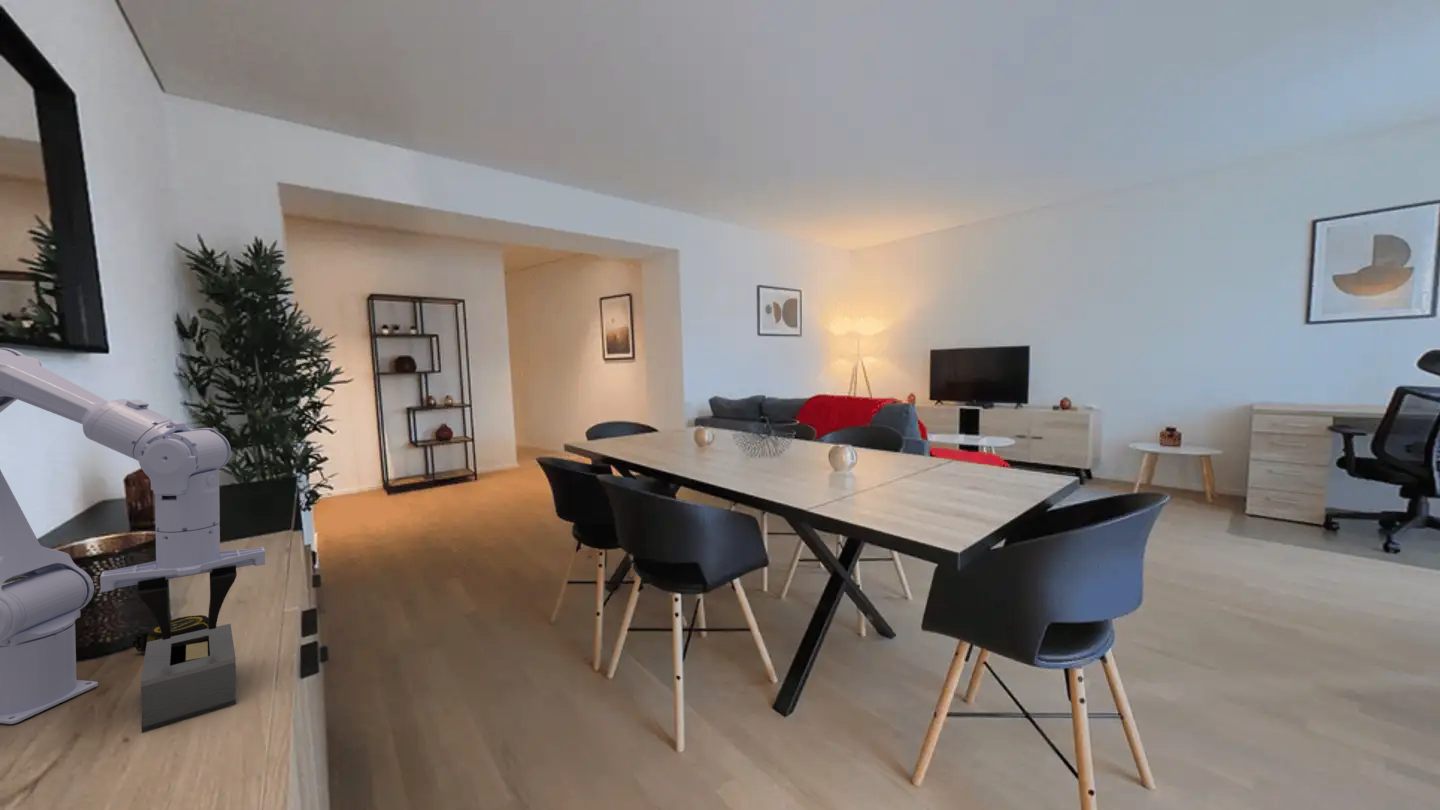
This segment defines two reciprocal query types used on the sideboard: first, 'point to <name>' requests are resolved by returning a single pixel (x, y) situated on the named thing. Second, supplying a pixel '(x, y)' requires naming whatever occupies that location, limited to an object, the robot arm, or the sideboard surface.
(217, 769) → the sideboard surface
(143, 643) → the tape measure
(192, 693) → the coin box
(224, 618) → the sideboard surface
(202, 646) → the wooden rectangular block
